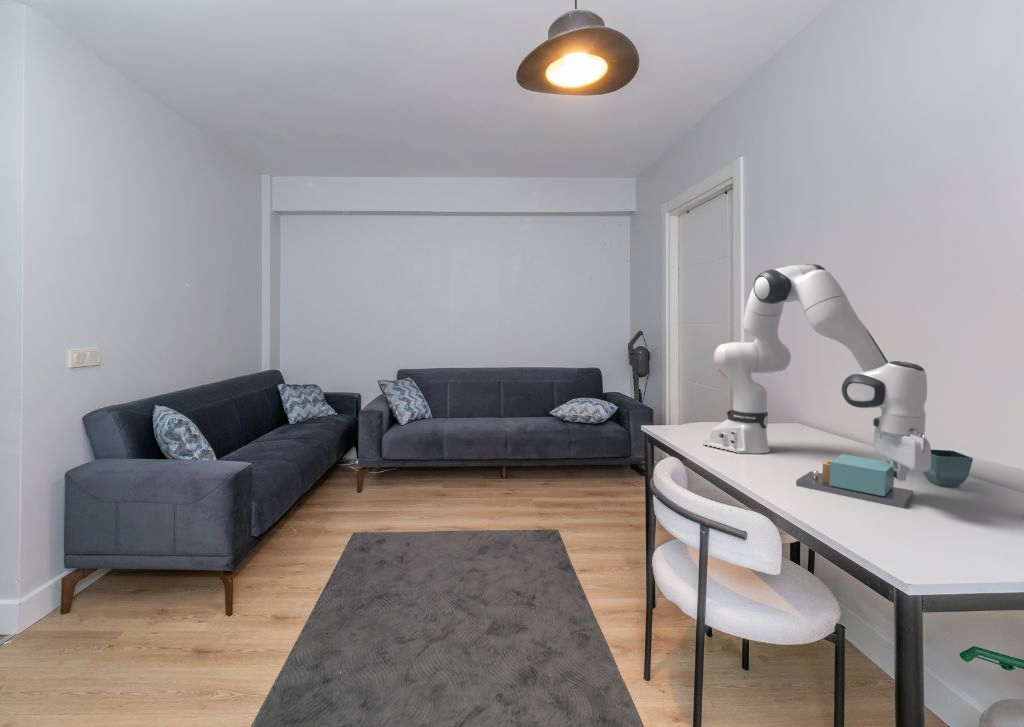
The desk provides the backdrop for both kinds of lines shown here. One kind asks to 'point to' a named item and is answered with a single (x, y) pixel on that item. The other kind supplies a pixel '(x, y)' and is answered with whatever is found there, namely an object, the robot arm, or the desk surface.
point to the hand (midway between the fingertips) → (899, 478)
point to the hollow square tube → (826, 471)
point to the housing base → (893, 497)
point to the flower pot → (948, 468)
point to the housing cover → (861, 474)
